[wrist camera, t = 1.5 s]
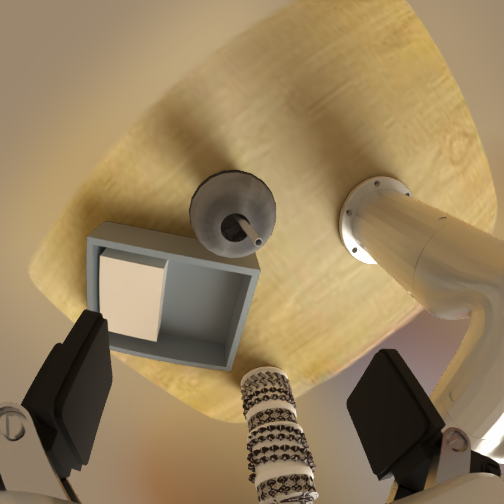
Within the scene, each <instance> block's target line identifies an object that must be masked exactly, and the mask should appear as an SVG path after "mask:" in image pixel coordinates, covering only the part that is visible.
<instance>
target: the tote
mask: <svg viewBox="0 0 504 504" xmlns="http://www.w3.org/2000/svg"><path fill="white" fill-rule="evenodd" d="M106 248H112V249H117V250H122V251H127V252H132V253H136V254H141V255H146V256H151V257H156V258H162V259H167V260H168V267H167V275H166V282H165V290H164V299H163V308H162V317H161V325H160V329H159V333H158V337H157V341H156V342H155V341H150V340H146V339H141V338H136V337H132V336H127V335H123V334H119V333H114V332H110V331H108V334H109V347H110V350H113V351H117V352H121V353H125V354H130V355H134V356H139V357H144V358H148V359H153V360H158V361H164V362H169V363H175V364H181V365H187V366H193V367H199V368H206V369H214V370H221V371H229V372H231V369H232V366H233V362H234V359H235V356H236V352H237V349H238V346H239V342H240V339H241V336H242V332H243V329H244V325H245V322H246V319H247V315H248V312H249V309H250V305H251V302H252V298H253V295H254V292H255V288H256V285H257V281H258V278H259V274H260V271H261V270H260V267H259V263H258V260H257V257H256V253H255V252H254V253H252V254H249V255H247V256H244V257H238V258H228V257H223V256H218V255H217V254H215V253H213V252H211V251H209V250H208V249H206V248H205V247H204V246H203V245H202V244H201V242H200V241H199V240H198V239H196V238H190V237H185V236H180V235H175V234H170V233H165V232H160V231H154V230H149V229H144V228H139V227H134V226H129V225H123V224H118V223H113V222H108V221H104V222H103V223H102V224H101V225H100V226H99V227H97V228H96V229H95V230H94V231H93V232H92V233H90V234H89V235H88V236H87V255H86V277H87V306H88V310H91V311H95V312H99V313H100V293H99V275H100V255H101V254H102V253H103V252H104V250H105V249H106Z"/></svg>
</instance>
